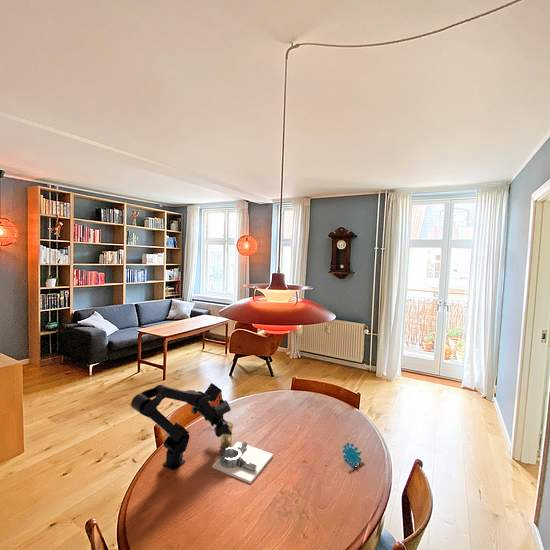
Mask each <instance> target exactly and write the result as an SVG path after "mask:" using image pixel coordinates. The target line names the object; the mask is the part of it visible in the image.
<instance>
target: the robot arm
mask: <svg viewBox="0 0 550 550" xmlns="http://www.w3.org/2000/svg"><path fill="white" fill-rule="evenodd" d="M222 392H223V390H222V389H221V388H219V387H218V386H217V385H216V384H214V383H212V382H210V384H209V386H208V387H207V389H206V390H205V392H203V391H196V390H194V389H193V390H192V389H189V390H181V389H178V388H173V387H170V386H166V385H164V384H158V385H156V386H154V387H153V388H149V389H147V390H144V391H142V392H141V393H139V394H136V395H135V396H134V397H132V400H131V402H130V407H131V408H132V409H133V410H135V411H136V412H137V413H139V414H140V415H142V416H145V417H147V418H149V419H150V420H151V421H152V422H154V423H155V424H156V425H157V426H158V427H159V428H161V429H162V430H163V431H164V432H165V433H166V439H165V440H164V442H163V447H164V448H166V455H165V456H166V457H165V461H164V462H163V463H162V465H163V466H164V467H165V468H166V467H167V468H169V469H171V470H173V471H174V470H176V469H178V468H179V467H181V466H182V465H183V464H184V463H185V462H186V460H185V459H183V457H184V452H186V450H187V447H188V444H189V441H190V437H191V436H190V431H188V430H187V429H186V428H185V427H184V426H182V425H181V424H179V423H178V422H175V423H174V424H173V423H172V422H171V421H170V420H169V419H168V418H167V417H166V416H165V415H164V414H162V413H161V412H160V411H159V410H158V406H159V405H160V404H161V402H162V401H163V400H164V399H165V398H166V399H170V400H176V401H179V402H183V403H186V404H188V405H190V406H191V407H190V408H191V412H190V413H191V414H193V415H196V414H197V413H198V414H200V415H201V416H202V417H203V418H204V420H205V421H206V422H207V421H208V422H209V423H210V425H211V426H212V427H214V429H213V431H214V434H215V436H216V437H217V438H221V435H222V434H226V435H231V434H232V435H233V431H232V432H231V431H230V430H229V425H228V423H227V422H228V421H227V420H225V418H224V415H225V414H227V413H229V412H231V411H232V410H231V406H230V404H229V402H228V401H227V400H226V399H223V398H219V396H220V395H221V394H222ZM151 398H152V399H151ZM218 398H219V399H218ZM216 400H218V404H217V405H214V404H212V403H215V402H216Z"/></svg>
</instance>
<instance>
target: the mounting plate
mask: <svg viewBox="0 0 550 550" xmlns="http://www.w3.org/2000/svg"><path fill="white" fill-rule="evenodd" d="M242 443H243V442H241V441H237V442H235V444H233V446H232V447H234V448H238V447H239V446H240V445H241V444H242ZM273 457H274V454H273V453H271V452H267V451H265V450H262V449H259V448H257V447H254V446H251V445H249V444H247V447H246V448H245V449H244V450H243V451H242V452H241V458H242V459H243V460H244V461H247V462H250V463H252V464H255V465H257V468H256V470H255V472H254V471H251V470H249V469H246V468H244V467H241V466H240V467H238V466H237V467H234V468H226V467H223V466H222V465H221V464H220V458H218V459H217V460H216V462H214V463H213V464H212V466H211V468H212V469H214V470H217V471H219V472H221V473H223V474H226V475H229V476H231V477H234V478H235V479H238V480H241V481H243V482H245V483H248V484H250V485H251V484H252V483H253V482H254V481H255V479H256V478H257V477H258V476H259V474H260V473H261V472H262V471H263V470H264V468H265V467H266V465H267V464H268V463H269V462H270V461H271V459H273ZM226 458H235V457H226Z"/></svg>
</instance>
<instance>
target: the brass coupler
mask: <svg viewBox="0 0 550 550" xmlns="http://www.w3.org/2000/svg"><path fill="white" fill-rule="evenodd" d="M227 423H228V425H229V430H230V431H231V432H232V434H231V435H226V434H222V435H221V436H220V447H221V448H222V449H225V448H228V447H232V442H233V441H232V440H233V423H232V421H227Z"/></svg>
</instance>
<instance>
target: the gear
mask: <svg viewBox="0 0 550 550" xmlns="http://www.w3.org/2000/svg"><path fill="white" fill-rule="evenodd" d="M342 447H343V449H342V450H341V452H342V453H343V455H342V456H343V457H342V459H344V460H345V458H346V460H345V463H346V465H349V467H350V468H354V465H355V466H356V465H357V462H358V463H360V464H361V461H362V457H360V456H361V454H362V450H360V451H358V450H359V449H358V447H357V446H355V447H354V443H350V442H347V443H346V444H344V445H342ZM353 447H354V448H353ZM350 463H351V464H350ZM357 466H358V465H357Z"/></svg>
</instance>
